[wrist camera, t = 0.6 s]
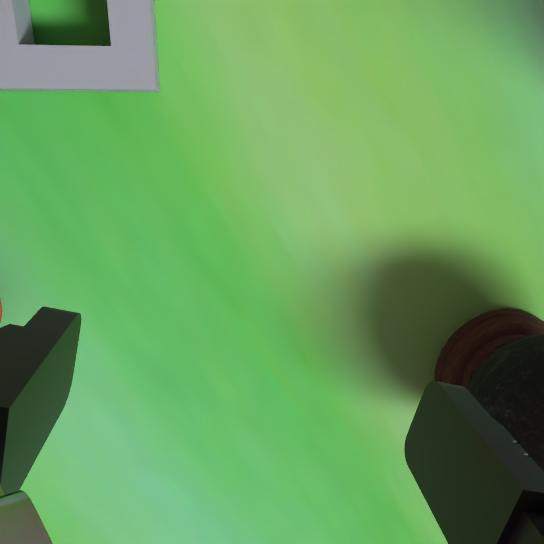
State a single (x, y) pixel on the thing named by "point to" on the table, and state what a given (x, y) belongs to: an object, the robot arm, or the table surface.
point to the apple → (0, 310)
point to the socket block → (81, 53)
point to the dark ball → (502, 372)
